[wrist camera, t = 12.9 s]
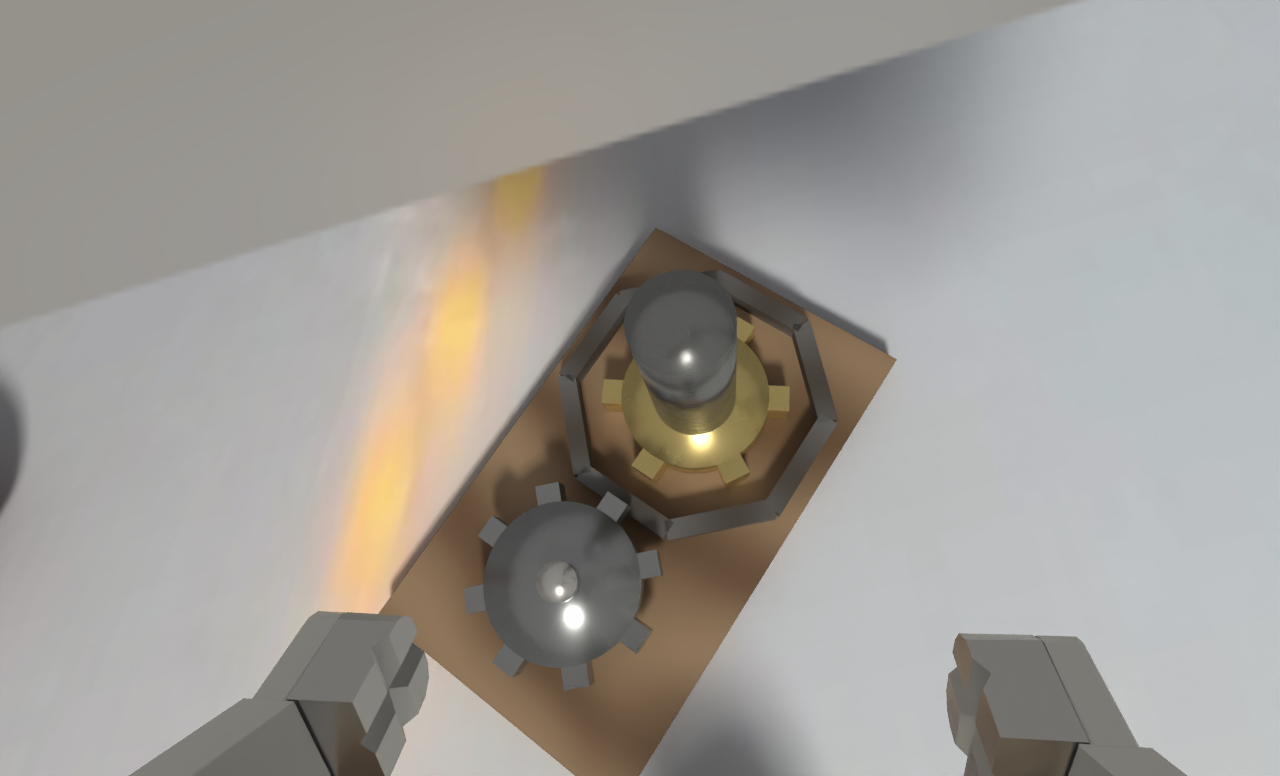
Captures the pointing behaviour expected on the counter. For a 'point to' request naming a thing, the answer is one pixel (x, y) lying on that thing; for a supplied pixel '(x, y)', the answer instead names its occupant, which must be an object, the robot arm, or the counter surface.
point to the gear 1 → (563, 585)
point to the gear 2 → (692, 380)
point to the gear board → (642, 519)
